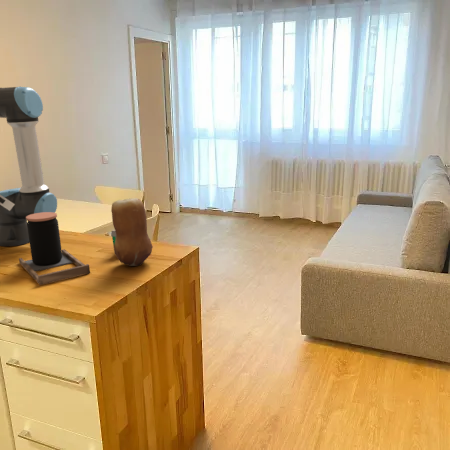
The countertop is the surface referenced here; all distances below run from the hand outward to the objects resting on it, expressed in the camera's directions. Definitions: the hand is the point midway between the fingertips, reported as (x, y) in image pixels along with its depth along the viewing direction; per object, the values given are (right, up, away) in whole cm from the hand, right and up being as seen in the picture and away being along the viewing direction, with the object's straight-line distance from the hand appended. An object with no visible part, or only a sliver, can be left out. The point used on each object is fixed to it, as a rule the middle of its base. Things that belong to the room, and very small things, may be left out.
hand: (7, 204), depth 155 cm
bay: (+13, -23, +8) cm, 28 cm away
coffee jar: (+9, -21, +13) cm, 26 cm away
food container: (+36, -18, +24) cm, 47 cm away
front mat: (+9, -22, +13) cm, 27 cm away
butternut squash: (+43, -22, +8) cm, 49 cm away
